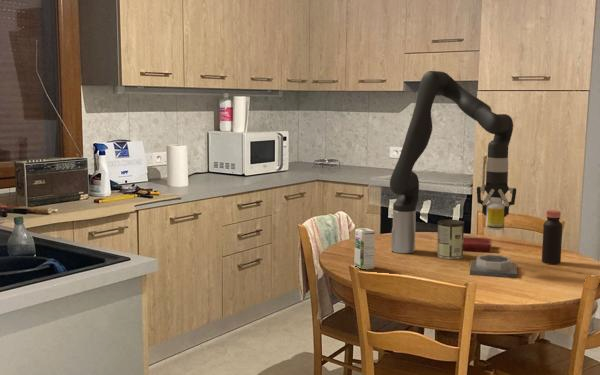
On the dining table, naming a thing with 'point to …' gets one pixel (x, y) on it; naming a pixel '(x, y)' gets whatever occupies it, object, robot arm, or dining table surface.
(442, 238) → the coffee can
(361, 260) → the syrup box
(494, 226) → the pill bottle
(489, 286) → the dining table surface
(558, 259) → the vinegar
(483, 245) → the hardcover book
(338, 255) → the dining table surface
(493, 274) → the collar base
